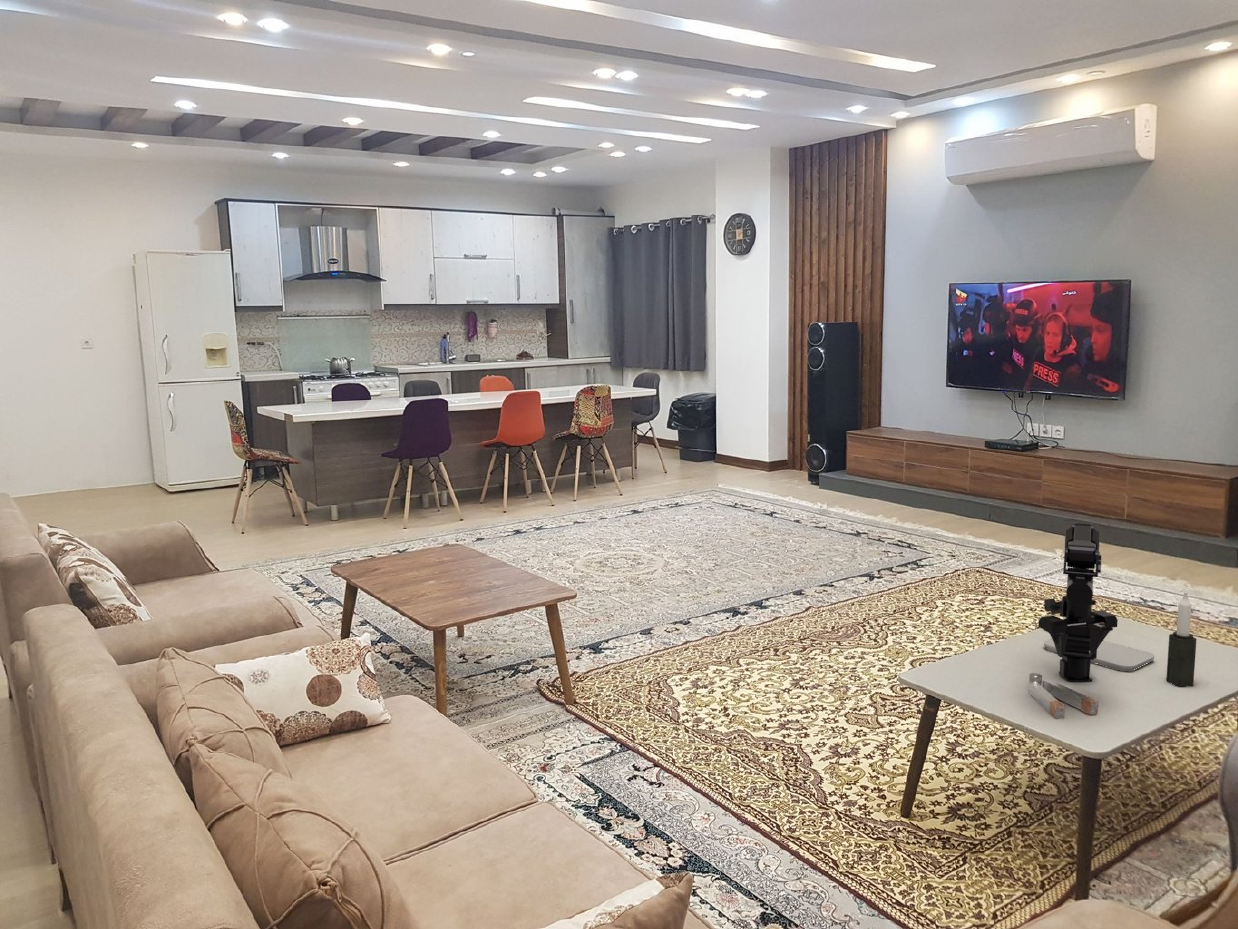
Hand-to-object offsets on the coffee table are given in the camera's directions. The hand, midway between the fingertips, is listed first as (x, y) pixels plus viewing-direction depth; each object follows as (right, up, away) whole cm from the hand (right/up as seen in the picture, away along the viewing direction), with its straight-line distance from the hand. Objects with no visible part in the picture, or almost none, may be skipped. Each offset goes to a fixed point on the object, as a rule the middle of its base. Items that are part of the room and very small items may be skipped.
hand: (1076, 654), depth 237 cm
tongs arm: (-1, -12, +2) cm, 13 cm away
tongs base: (-6, -13, +3) cm, 14 cm away
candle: (+34, -10, +13) cm, 37 cm away
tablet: (+23, -8, +35) cm, 43 cm away
